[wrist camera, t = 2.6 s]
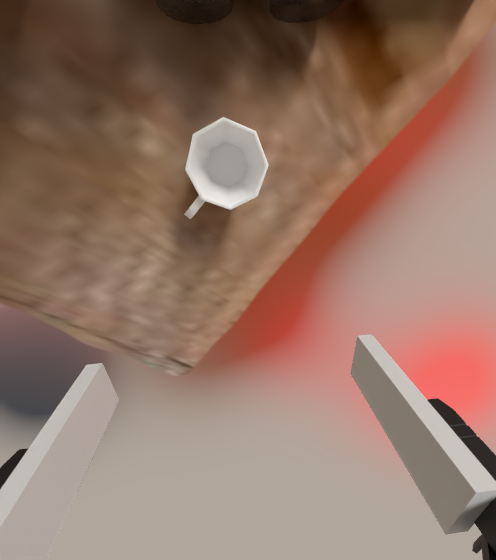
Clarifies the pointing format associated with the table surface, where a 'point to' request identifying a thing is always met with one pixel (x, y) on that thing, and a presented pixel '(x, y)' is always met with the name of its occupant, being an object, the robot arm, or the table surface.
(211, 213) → the table surface
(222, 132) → the cup
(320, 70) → the table surface
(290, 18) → the trolley
